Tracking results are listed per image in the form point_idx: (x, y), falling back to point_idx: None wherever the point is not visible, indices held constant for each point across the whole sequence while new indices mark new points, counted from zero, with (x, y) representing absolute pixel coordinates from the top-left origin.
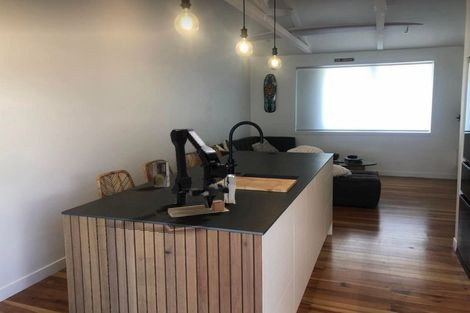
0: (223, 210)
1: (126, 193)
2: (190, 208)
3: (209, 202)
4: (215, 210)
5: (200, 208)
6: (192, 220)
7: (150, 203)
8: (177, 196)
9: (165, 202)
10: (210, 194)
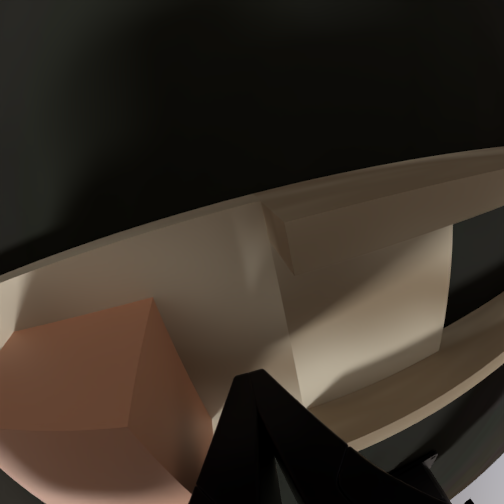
0: (24, 328)
1: (459, 491)
2: (476, 352)
3: (293, 462)
4: (138, 308)
5: (367, 399)
6: (469, 27)
7: (480, 447)
8: (448, 500)
9: None
10: None
